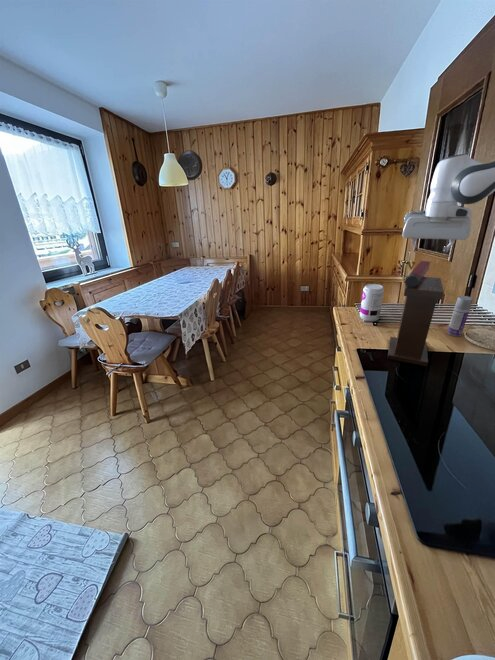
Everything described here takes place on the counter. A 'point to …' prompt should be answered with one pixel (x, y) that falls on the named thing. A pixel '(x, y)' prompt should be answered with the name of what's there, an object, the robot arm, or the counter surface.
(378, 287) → the supplement can
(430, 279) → the shelf stand
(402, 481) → the counter surface
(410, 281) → the maroon rod
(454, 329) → the container
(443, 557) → the counter surface
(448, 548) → the counter surface
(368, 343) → the counter surface
